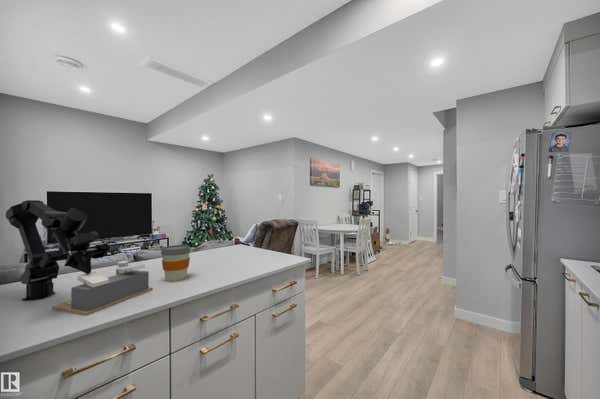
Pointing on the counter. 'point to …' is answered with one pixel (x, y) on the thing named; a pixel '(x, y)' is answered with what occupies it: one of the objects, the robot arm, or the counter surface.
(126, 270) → the rocker
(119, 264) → the supplement bottle
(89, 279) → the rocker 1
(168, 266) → the reusable coffee cup
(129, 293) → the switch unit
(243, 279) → the counter surface
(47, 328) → the counter surface
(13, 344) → the counter surface
